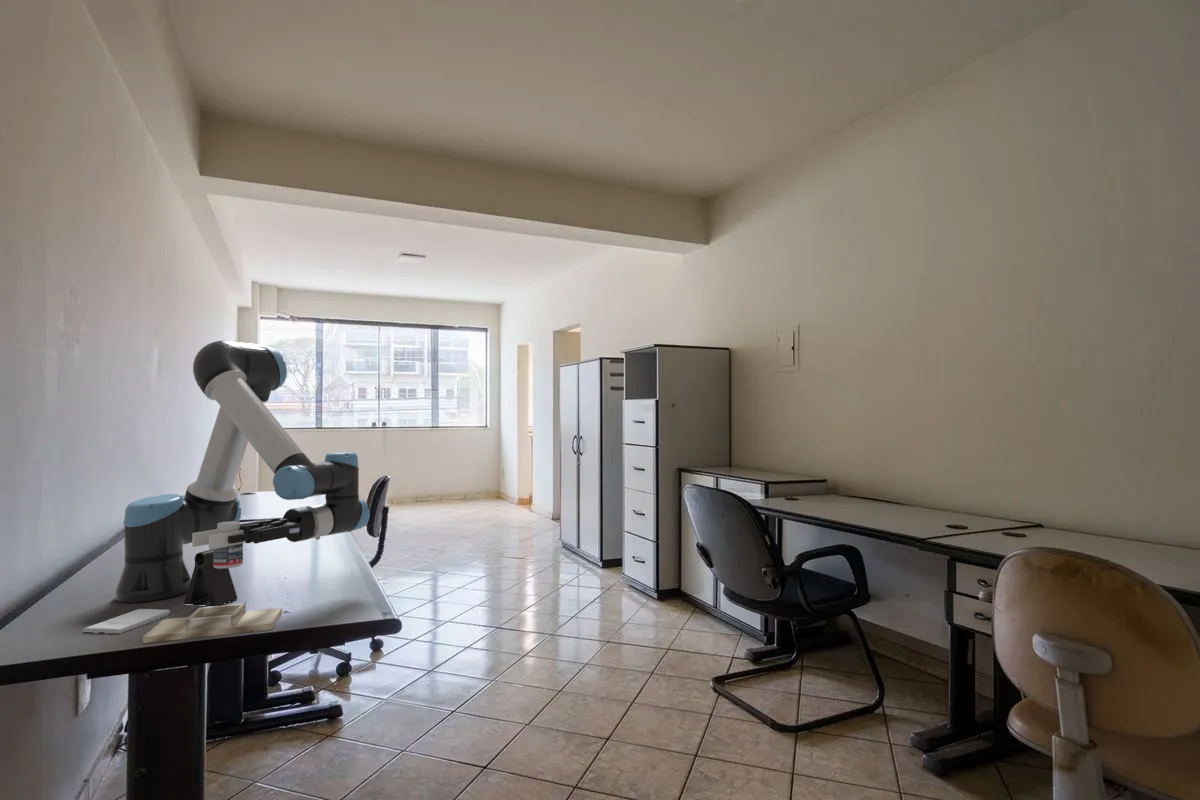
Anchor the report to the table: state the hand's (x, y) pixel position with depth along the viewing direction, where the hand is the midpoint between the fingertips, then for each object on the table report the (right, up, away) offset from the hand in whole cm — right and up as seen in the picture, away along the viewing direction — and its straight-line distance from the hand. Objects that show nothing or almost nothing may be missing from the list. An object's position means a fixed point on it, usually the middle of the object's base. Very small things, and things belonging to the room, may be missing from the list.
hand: (201, 541), depth 127 cm
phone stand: (-10, -19, +20) cm, 29 cm away
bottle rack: (+2, -18, +2) cm, 18 cm away
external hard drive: (-19, -19, +6) cm, 28 cm away
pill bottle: (+3, -6, +4) cm, 8 cm away
